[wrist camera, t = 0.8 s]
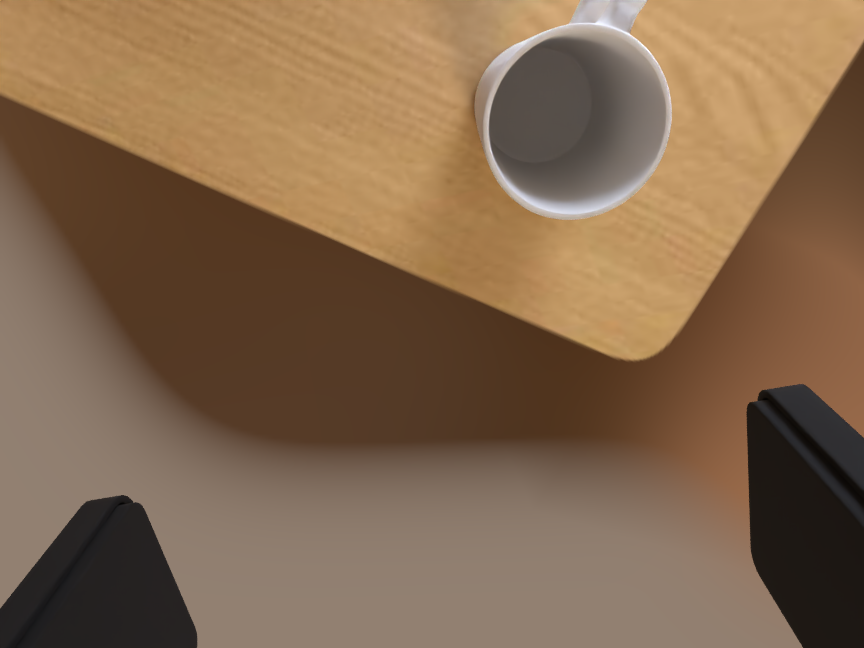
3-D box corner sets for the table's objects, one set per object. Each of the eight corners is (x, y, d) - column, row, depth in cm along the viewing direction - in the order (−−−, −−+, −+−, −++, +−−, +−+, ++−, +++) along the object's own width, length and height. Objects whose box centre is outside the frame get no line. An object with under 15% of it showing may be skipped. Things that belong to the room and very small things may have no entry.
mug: (559, 191, 37) (610, 248, 26) (447, 138, 36) (451, 174, 25) (656, 7, 34) (763, -19, 22) (536, -57, 33) (586, -118, 22)
